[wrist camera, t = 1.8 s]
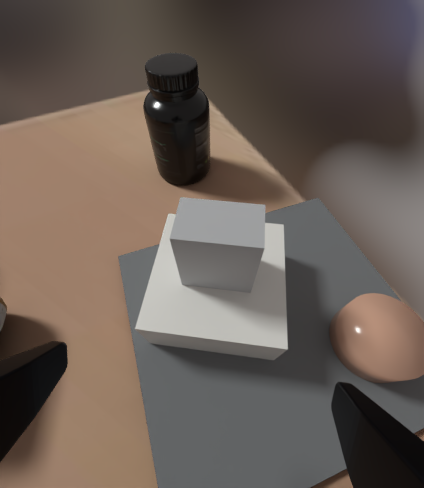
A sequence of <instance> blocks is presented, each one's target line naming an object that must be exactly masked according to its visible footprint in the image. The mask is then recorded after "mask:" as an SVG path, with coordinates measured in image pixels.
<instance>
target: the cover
mask: <svg viewBox="0 0 424 488" xmlns="http://www.w3.org/2000/svg"><path fill="white" fill-rule="evenodd" d="M135 330H136V331H138V332H139V333H140V334H141V335H142V336H143V337H144V338H145V339H146V340H147V341H148V342H149V343H151V344H159V345H166V346H173V347H180V348H188V349H195V350H202V351H209V352H217V353H224V354H231V355H238V356H246V357H253V358H260V359H267V360H275V359H276V358H277V357H279V356H280V355H281V354H283V353H284V352H285V351H286V350H288V340H287V310H286V280H285V250H284V225H283V224H272V223H265V205H261V204H250V203H239V202H228V201H217V200H205V199H194V198H183V197H181V198H180V201H179V205H178V209H177V213H176V214H168V217H167V221H166V224H165V227H164V231H163V234H162V238H161V241H160V245H159V248H158V251H157V255H156V258H155V262H154V265H153V269H152V272H151V275H150V279H149V282H148V286H147V289H146V293H145V296H144V299H143V303H142V306H141V310H140V313H139V317H138V320H137V323H136V327H135Z"/></svg>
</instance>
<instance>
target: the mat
mask: <svg viewBox="0 0 424 488" xmlns="http://www.w3.org/2000/svg"><path fill="white" fill-rule="evenodd" d="M265 223H272V224H283V225H284V250H285V280H286V310H287V340H288V350H286V351H285V352H284V353H283V354H281V355H280V356H279V357H277V358H276V359H275V360H267V359H260V358H253V357H246V356H238V355H231V354H224V353H217V352H209V351H202V350H195V349H188V348H180V347H173V346H166V345H159V344H151V343H149V342H148V341H147V340H146V339H145V338H144V337H143V336H142V335H141V334H140V333H139V332H138V331H136V330H135V327H136V323H137V320H138V317H139V313H140V310H141V306H142V303H143V299H144V296H145V293H146V289H147V286H148V282H149V279H150V275H151V272H152V269H153V265H154V262H155V258H156V255H157V251H158V248H159V245H160V244H159V245H155V246H152V247H148V248H145V249H142V250H138V251H135V252H131V253H128V254H124V255H121V256H118V258H119V264H120V269H121V275H122V281H123V287H124V293H125V298H126V304H127V310H128V316H129V322H130V327H131V333H132V339H133V345H134V351H135V356H136V362H137V368H138V374H139V379H140V385H141V391H142V397H143V403H144V408H145V414H146V420H147V426H148V432H149V437H150V443H151V449H152V455H153V461H154V466H155V472H156V478H157V484H158V488H310V487H312V486H314V485H316V484H318V483H320V482H322V481H324V480H326V479H327V478H329V477H331V476H333V475H335V474H337V473H339V472H341V471H343V470H345V469H347V467H346V464H345V460H344V457H343V453H342V449H341V445H340V441H339V438H338V434H337V430H336V426H335V422H334V418H333V415H332V410H331V402H332V397H333V393H334V388H335V385H336V383H337V382H347V383H351V384H353V385H354V386H355V387H356V388H358V389H359V390H360V391H361V392H363V393H364V394H365V395H366V396H368V397H369V398H370V399H371V400H373V401H374V402H375V403H376V404H378V405H379V406H380V407H381V408H383V409H384V410H385V411H386V412H388V413H389V414H390V415H391V416H393V417H394V418H395V419H396V420H398V421H399V422H400V423H401V424H403V425H404V426H405V427H406V428H408V429H409V430H410V431H411V432H413V433H415V432H417V431H419V430H421V429H423V428H424V375H422V376H420V377H418V378H416V379H411V380H405V381H397V382H390V383H373V382H369V381H366V380H364V379H362V378H360V377H358V376H356V375H355V374H353V373H352V372H351V371H350V370H348V369H347V368H346V367H345V366H344V365H343V364H342V362H341V361H340V360H339V358H338V357H337V355H336V354H335V352H334V350H333V347H332V345H331V341H330V336H329V328H330V323H331V320H332V318H333V317H334V315H335V314H336V313H337V312H338V311H339V310H340V309H342V308H343V307H344V306H345V305H347V304H348V303H349V302H351V301H352V300H353V299H355V298H356V297H358V296H360V295H363V294H368V293H378V294H384V295H388V296H391V297H393V298H395V299H397V300H399V301H401V300H400V299H399V298H398V296H397V295H396V294H395V293H394V291H393V290H392V289H391V288H390V286H389V285H388V284H387V283H386V281H385V280H384V279H383V278H382V276H381V275H380V274H379V273H378V271H377V270H376V269H375V268H374V266H373V265H372V264H371V263H370V262H369V260H368V259H367V258H366V257H365V255H364V254H363V253H362V252H361V250H360V249H359V248H358V247H357V245H356V244H355V243H354V242H353V241H352V239H351V238H350V237H349V235H348V234H347V233H346V232H345V230H344V229H343V228H342V227H341V225H340V224H339V223H338V222H337V220H336V219H335V218H334V217H333V215H332V214H331V213H330V212H329V210H328V209H327V208H326V207H325V205H324V204H323V203H322V202H321V201H320V199H319V198H316V199H312V200H309V201H305V202H302V203H299V204H295V205H292V206H288V207H285V208H282V209H278V210H275V211H271V212H268V213H265ZM401 302H402V301H401Z"/></svg>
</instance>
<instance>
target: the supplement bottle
mask: <svg viewBox="0 0 424 488" xmlns="http://www.w3.org/2000/svg"><path fill="white" fill-rule="evenodd" d="M145 70H146V75H147V80H148V81H147V84H148V88H149V90H150V92H149V93H148V94H147V96H146V98H145V100H144V105H143V109H144V114H145V119H146V123H147V127H148V131H149V135H150V139H151V143H152V147H153V152H154V156H155V160H156V164H157V168H158V171H159V173H160V175H161V176H162V177H163V178H164V179H165V180H166V181H168V182H170V183H173V184H177V185H189V184H193V183H196V182H198V181H200V180H201V179H203V178H204V177H205V176H206V175H207V173H208V172H209V169H210V118H209V101H208V98H207V96H206V95H205V93H204V92H203V91H202V90H201V89H200V88H199V87H198V86H199V77H198V66H197V62H196V60H195V59H194V58H192V57H191V56H189V55H186V54H181V53H180V54H179V53H167V54H161V55H157V56H155V57H153V58H151V59H150V60H148V61H147V62H146V65H145Z"/></svg>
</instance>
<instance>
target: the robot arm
mask: <svg viewBox="0 0 424 488" xmlns="http://www.w3.org/2000/svg"><path fill="white" fill-rule="evenodd" d="M67 364H68V361H67V345H66V343H64V342H59V341H52V342H49V343H46V344H44V345H41V346H38V347H36V348H33V349H30V350H28V351H25V352H22V353H20V354H17V355H14V356H12V357H9V358H6V359H4V360H1V361H0V462H1V461H2V459H3V458H4V457H5V455H6V454H7V453H8V452H9V450H10V449H11V448H12V446H13V445H14V444H15V443H16V441H17V440H18V439H19V437H20V436H21V435H22V433H23V432H24V431H25V430H26V428H27V427H28V426H29V424H30V423H31V422H32V420H33V419H34V418H35V416H36V415H37V413H38V412H39V410H40V409H41V408H42V406H43V404H44V403H45V401H46V400H47V398H48V397H49V395H50V394H51V392H52V391H53V389H54V388H55V386H56V384H57V383H58V381H59V380H60V378H61V377H62V375H63V374H64V372H65V370H66V368H67ZM331 410H332V415H333V418H334V422H335V426H336V430H337V434H338V438H339V441H340V445H341V449H342V453H343V457H344V460H345V464H346V467H347V471H348V474H349V477H350V480H351V482H352V485H353V488H424V441H423V440H421V439H420V438H419V437H418V436H416V435H415V434H414V433H413V432H411V431H410V430H409V429H408V428H406V427H405V426H404V425H403V424H401V423H400V422H399V421H398V420H396V419H395V418H394V417H393V416H391V415H390V414H389V413H388V412H386V411H385V410H384V409H383V408H381V407H380V406H379V405H378V404H376V403H375V402H374V401H373V400H371V399H370V398H369V397H368V396H366V395H365V394H364V393H363V392H361V391H360V390H359V389H358V388H356V387H355V386H354V385H353V384H351V383H347V382H337V383H336V385H335V388H334V393H333V397H332V402H331Z"/></svg>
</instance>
